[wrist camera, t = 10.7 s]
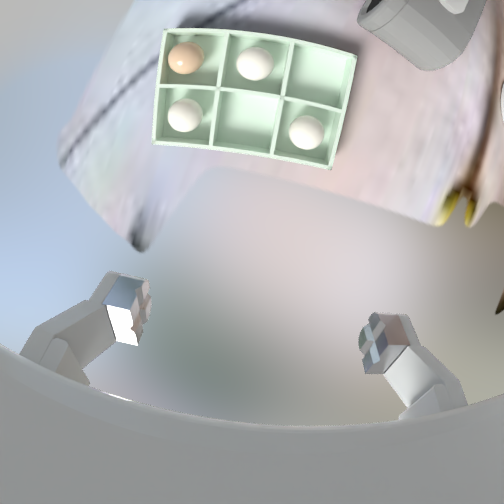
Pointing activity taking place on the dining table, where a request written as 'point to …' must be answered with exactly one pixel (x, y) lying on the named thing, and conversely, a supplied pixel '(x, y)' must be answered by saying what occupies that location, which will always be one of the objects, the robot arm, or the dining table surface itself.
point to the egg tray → (255, 95)
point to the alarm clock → (423, 28)
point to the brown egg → (186, 57)
